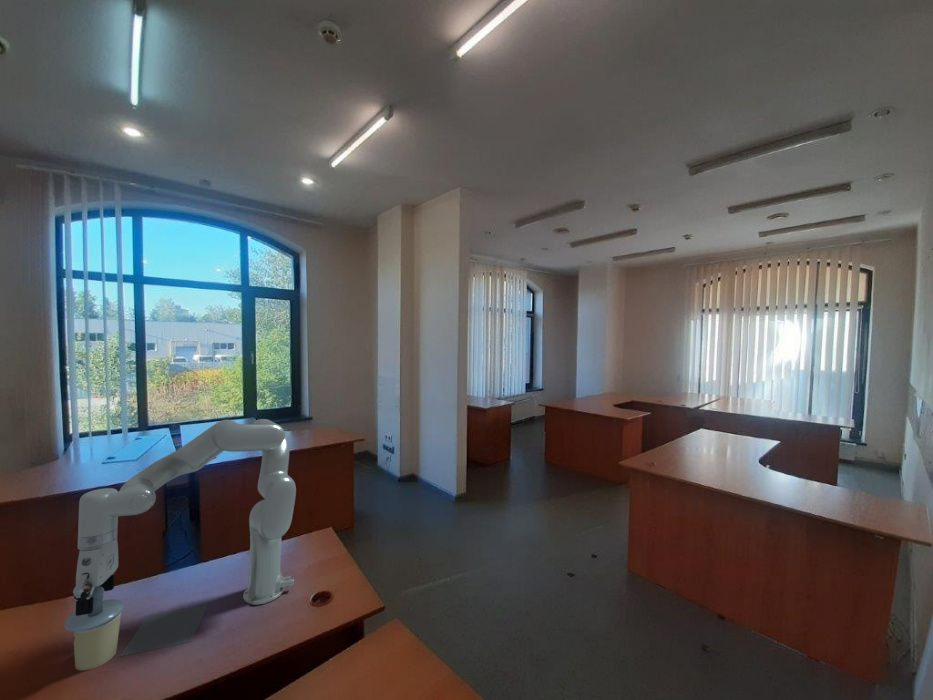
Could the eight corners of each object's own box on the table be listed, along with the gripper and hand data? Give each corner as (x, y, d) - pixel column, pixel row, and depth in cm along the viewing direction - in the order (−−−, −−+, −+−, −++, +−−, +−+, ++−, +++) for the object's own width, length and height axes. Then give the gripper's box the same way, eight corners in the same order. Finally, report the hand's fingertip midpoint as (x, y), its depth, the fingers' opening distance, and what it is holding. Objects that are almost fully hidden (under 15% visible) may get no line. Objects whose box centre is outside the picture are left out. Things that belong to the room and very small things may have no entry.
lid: (131, 598, 106) (132, 572, 106) (110, 625, 95) (111, 596, 95) (81, 607, 102) (82, 579, 102) (53, 636, 91) (54, 605, 92)
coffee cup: (93, 647, 103) (95, 603, 103) (129, 645, 104) (131, 602, 104) (59, 676, 94) (61, 628, 94) (99, 674, 95) (101, 627, 95)
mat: (208, 606, 120) (208, 605, 120) (190, 643, 105) (190, 641, 105) (147, 618, 115) (147, 616, 115) (119, 658, 100) (120, 656, 100)
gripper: (97, 551, 92) (94, 620, 92) (131, 521, 108) (129, 580, 108) (57, 556, 89) (54, 627, 89) (98, 525, 106) (96, 585, 105)
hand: (95, 601), depth 99 cm, fingers open, 9 cm apart
